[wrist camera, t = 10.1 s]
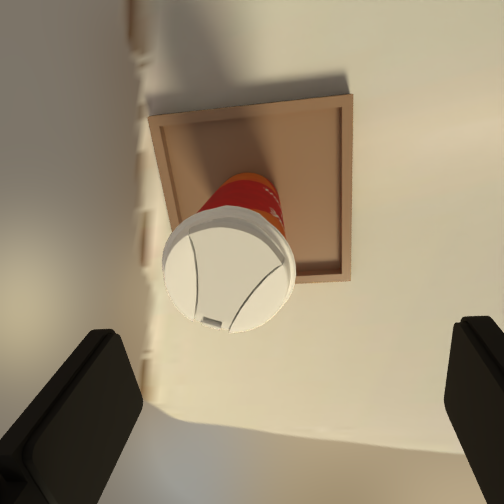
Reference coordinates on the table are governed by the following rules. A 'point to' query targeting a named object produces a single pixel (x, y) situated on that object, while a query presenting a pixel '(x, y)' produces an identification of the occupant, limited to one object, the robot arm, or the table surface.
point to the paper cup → (231, 257)
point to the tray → (270, 170)
